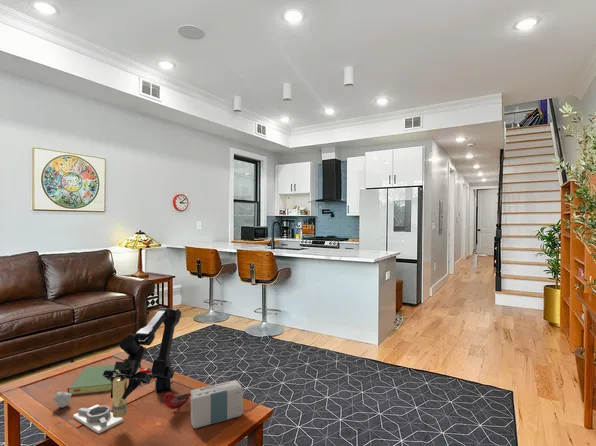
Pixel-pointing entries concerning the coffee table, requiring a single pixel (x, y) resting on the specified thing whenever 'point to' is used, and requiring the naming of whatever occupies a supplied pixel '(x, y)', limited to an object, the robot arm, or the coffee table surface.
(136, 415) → the coffee table surface
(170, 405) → the decorative bird figurine
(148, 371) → the race car
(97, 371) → the hardcover book
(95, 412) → the coupling stand
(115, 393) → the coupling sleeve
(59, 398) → the grey rounded lump
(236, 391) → the stereo radio cassette player
